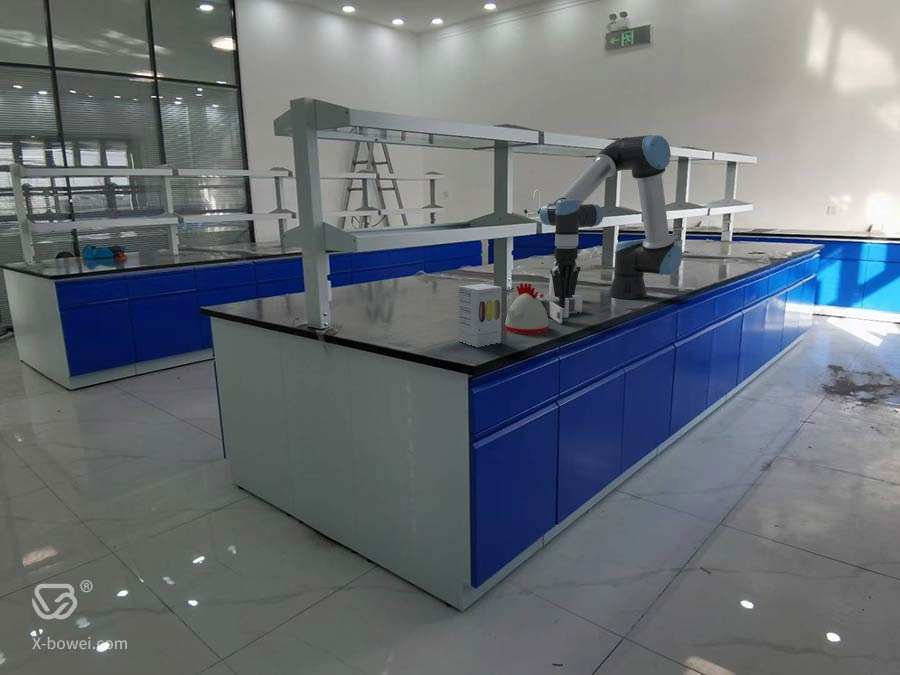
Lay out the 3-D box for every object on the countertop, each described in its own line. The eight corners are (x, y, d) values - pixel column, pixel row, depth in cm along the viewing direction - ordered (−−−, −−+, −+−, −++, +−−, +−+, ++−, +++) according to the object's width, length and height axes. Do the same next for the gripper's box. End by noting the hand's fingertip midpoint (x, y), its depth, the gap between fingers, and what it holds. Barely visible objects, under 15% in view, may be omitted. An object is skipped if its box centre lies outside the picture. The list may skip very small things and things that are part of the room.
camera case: (564, 307, 229) (565, 290, 228) (582, 312, 221) (582, 294, 219) (523, 312, 221) (524, 294, 219) (540, 317, 212) (541, 298, 211)
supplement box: (476, 348, 173) (476, 289, 169) (457, 341, 180) (457, 285, 176) (502, 343, 179) (502, 286, 174) (482, 337, 186) (482, 282, 182)
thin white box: (562, 323, 202) (563, 307, 200) (557, 323, 201) (558, 308, 200) (551, 316, 214) (552, 301, 212) (547, 316, 214) (547, 301, 212)
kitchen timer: (524, 322, 205) (525, 278, 201) (557, 329, 195) (558, 283, 192) (496, 329, 196) (496, 283, 192) (529, 336, 186) (530, 288, 182)
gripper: (570, 244, 207) (568, 312, 212) (544, 247, 199) (542, 317, 205) (588, 246, 201) (585, 315, 207) (561, 249, 193) (559, 321, 199)
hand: (563, 316), depth 206 cm, fingers closed
